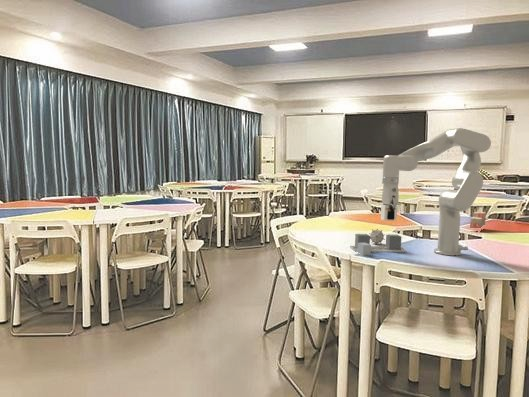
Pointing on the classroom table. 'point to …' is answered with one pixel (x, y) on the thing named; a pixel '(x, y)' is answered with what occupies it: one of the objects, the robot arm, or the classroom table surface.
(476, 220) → the stack of blocks
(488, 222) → the classroom table surface
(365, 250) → the block
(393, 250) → the rail
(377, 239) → the grey spiky ball
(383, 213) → the block
